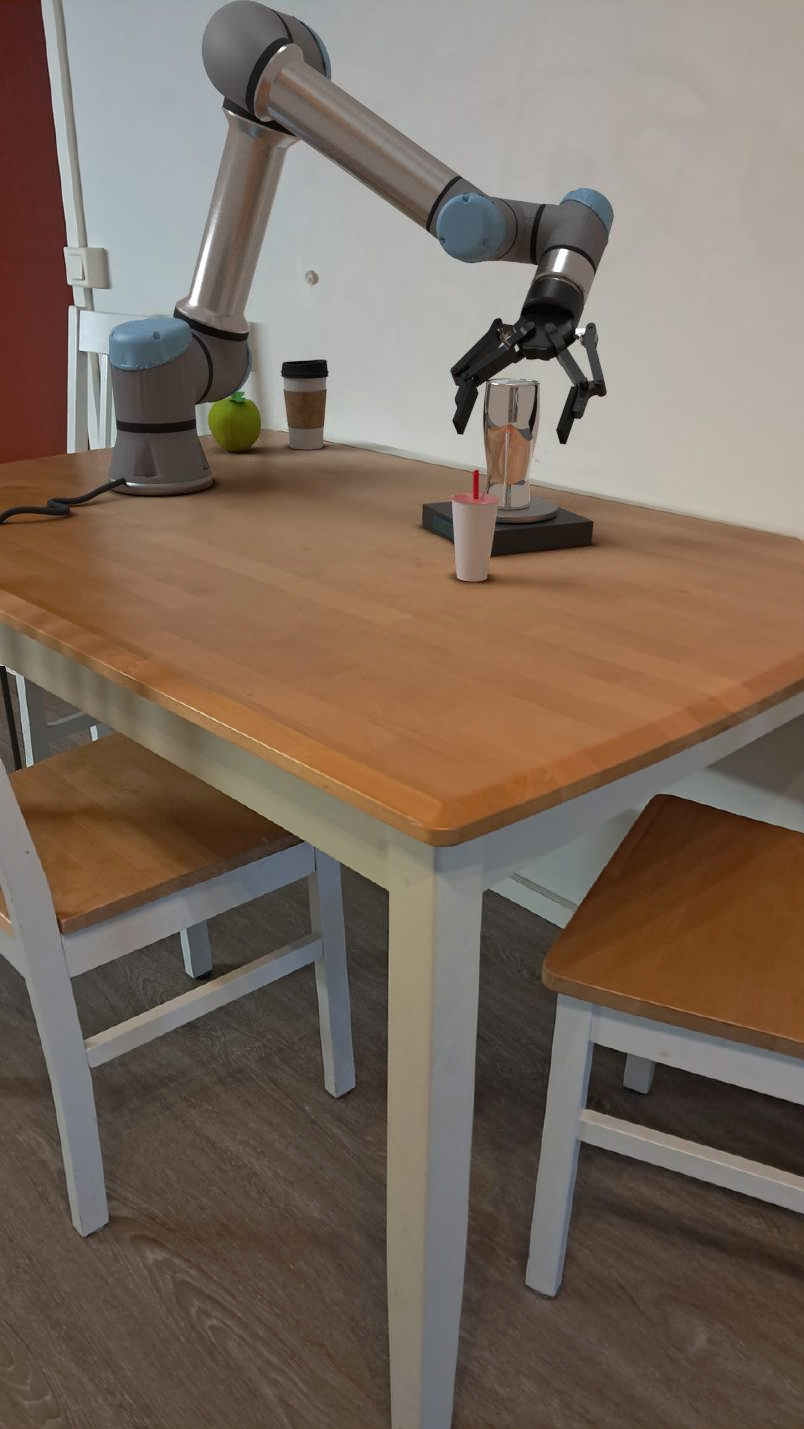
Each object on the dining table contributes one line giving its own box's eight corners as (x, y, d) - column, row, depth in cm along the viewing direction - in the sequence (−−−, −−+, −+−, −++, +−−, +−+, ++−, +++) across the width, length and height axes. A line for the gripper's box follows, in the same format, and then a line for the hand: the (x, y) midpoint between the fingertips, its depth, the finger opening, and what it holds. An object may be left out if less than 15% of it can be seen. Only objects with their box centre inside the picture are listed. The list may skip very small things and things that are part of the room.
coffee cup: (327, 451, 189) (326, 363, 183) (280, 450, 190) (277, 362, 183) (331, 443, 197) (330, 358, 191) (286, 442, 197) (283, 357, 191)
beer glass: (545, 504, 135) (553, 381, 129) (510, 513, 131) (517, 386, 125) (503, 495, 140) (509, 376, 134) (467, 503, 135) (472, 380, 129)
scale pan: (484, 526, 128) (484, 520, 127) (437, 504, 138) (437, 497, 138) (577, 517, 132) (577, 511, 132) (524, 496, 143) (525, 490, 143)
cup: (470, 587, 116) (474, 476, 111) (438, 575, 120) (441, 468, 115) (505, 578, 119) (511, 470, 114) (473, 567, 123) (478, 462, 118)
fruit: (263, 445, 194) (260, 388, 189) (260, 455, 185) (258, 395, 181) (212, 445, 193) (208, 388, 189) (207, 455, 184) (203, 395, 180)
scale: (475, 557, 127) (476, 532, 126) (419, 526, 140) (419, 504, 139) (591, 544, 133) (594, 521, 132) (527, 516, 146) (528, 494, 145)
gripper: (655, 322, 135) (611, 460, 129) (475, 314, 146) (425, 442, 139) (649, 278, 129) (602, 421, 123) (460, 272, 139) (408, 405, 133)
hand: (508, 432), depth 131 cm, fingers open, 13 cm apart
